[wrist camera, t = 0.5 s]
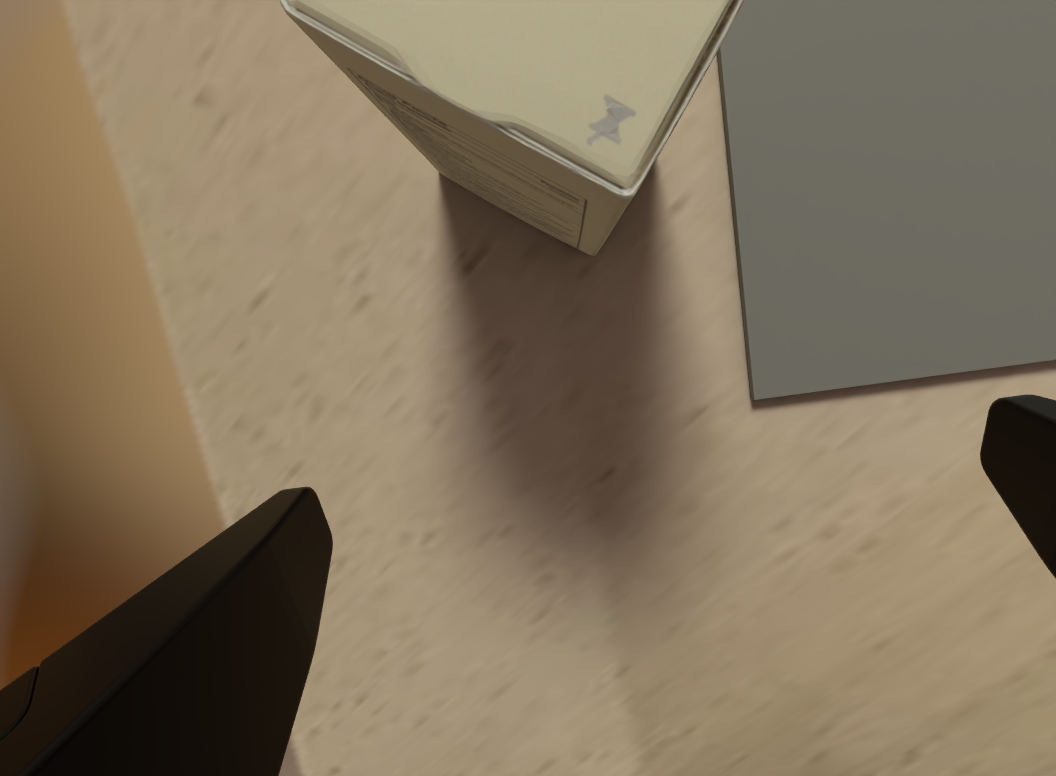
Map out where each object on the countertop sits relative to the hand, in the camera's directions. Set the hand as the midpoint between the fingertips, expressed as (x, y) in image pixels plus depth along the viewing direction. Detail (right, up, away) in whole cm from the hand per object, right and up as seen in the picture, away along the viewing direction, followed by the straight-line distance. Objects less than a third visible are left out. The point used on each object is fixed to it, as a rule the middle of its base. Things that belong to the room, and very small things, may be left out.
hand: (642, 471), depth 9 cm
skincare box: (-1, +9, +13) cm, 16 cm away
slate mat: (+12, +12, +12) cm, 20 cm away
